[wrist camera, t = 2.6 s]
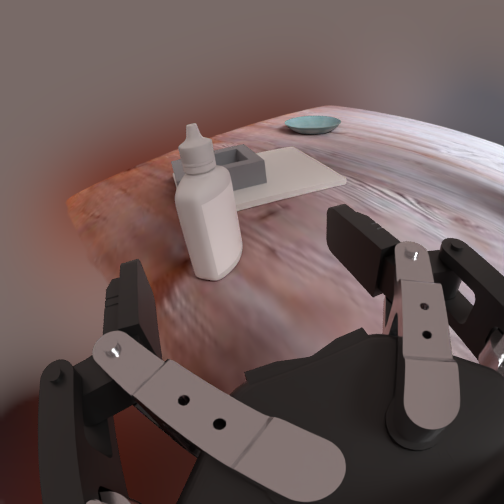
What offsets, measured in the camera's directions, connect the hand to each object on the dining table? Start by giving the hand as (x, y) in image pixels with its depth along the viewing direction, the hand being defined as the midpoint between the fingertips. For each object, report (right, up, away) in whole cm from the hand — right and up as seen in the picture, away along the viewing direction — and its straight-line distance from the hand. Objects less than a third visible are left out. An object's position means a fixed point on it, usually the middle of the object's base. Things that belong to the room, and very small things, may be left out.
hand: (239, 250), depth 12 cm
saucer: (+13, +25, +47) cm, 55 cm away
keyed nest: (0, +10, +28) cm, 30 cm away
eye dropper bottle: (-2, -1, +14) cm, 15 cm away
